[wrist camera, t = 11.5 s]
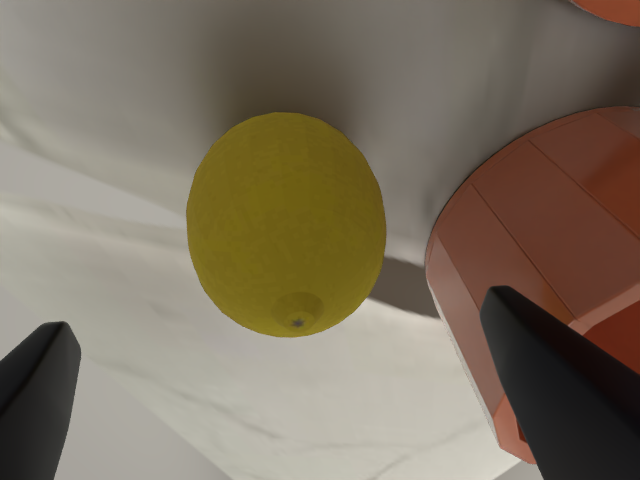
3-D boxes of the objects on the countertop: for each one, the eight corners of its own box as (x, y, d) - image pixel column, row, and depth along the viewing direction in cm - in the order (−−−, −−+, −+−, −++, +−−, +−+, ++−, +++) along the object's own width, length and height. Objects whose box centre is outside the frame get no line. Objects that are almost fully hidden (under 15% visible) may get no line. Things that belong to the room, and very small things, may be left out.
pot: (816, 25, 15) (1168, 106, 9) (599, 346, 26) (698, 474, 21) (475, 28, 14) (642, 127, 8) (399, 366, 25) (445, 510, 19)
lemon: (309, 41, 13) (362, 170, 7) (377, 174, 17) (453, 340, 10) (165, 128, 14) (103, 304, 8) (256, 237, 18) (260, 420, 12)
